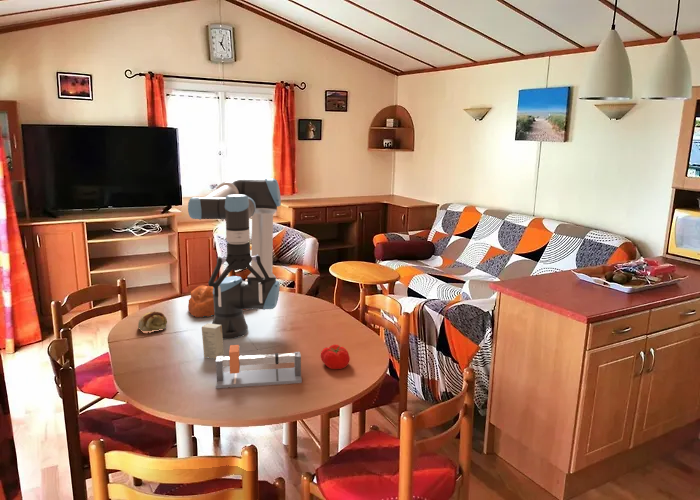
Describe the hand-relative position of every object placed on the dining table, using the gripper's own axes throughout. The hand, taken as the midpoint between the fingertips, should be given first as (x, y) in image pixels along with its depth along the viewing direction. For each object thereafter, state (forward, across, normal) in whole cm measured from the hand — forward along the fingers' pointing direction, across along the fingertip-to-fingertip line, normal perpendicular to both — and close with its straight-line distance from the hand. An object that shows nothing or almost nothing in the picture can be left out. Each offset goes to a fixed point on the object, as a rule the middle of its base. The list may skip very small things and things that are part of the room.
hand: (240, 303), depth 182 cm
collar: (+22, -3, -4) cm, 22 cm away
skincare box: (+26, -8, +18) cm, 33 cm away
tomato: (+26, +33, -2) cm, 42 cm away
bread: (+25, +1, +72) cm, 77 cm away
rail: (+26, +5, -5) cm, 27 cm away
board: (+26, +5, -5) cm, 27 cm away
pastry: (+26, -30, +56) cm, 69 cm away
